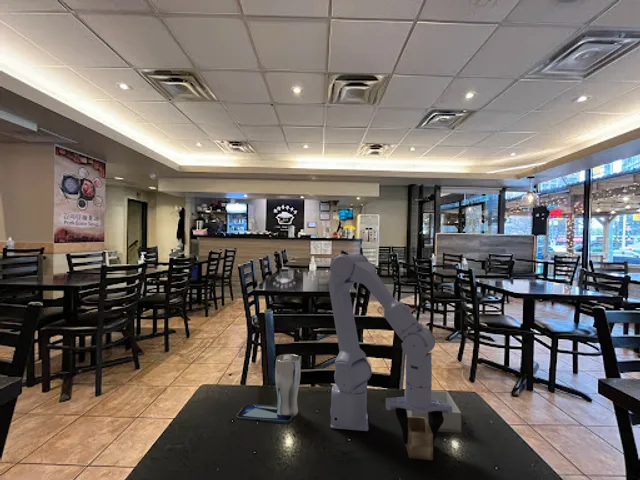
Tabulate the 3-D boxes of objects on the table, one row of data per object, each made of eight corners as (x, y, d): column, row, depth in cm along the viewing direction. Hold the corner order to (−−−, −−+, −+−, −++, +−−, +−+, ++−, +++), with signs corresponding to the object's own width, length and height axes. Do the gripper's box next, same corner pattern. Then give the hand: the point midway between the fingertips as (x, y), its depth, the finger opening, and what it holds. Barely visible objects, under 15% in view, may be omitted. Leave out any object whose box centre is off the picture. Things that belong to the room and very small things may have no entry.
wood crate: (409, 458, 68) (409, 432, 69) (404, 438, 75) (404, 415, 75) (432, 460, 68) (433, 434, 68) (425, 440, 75) (425, 417, 75)
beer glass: (295, 421, 82) (296, 363, 83) (270, 417, 84) (271, 361, 84) (302, 408, 89) (303, 354, 89) (279, 405, 90) (280, 352, 91)
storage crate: (411, 429, 79) (411, 409, 80) (404, 405, 91) (404, 388, 92) (461, 433, 78) (461, 412, 78) (447, 408, 90) (447, 391, 90)
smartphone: (245, 403, 90) (296, 407, 88) (245, 407, 90) (296, 410, 88) (234, 417, 83) (290, 421, 81) (234, 420, 83) (289, 425, 81)
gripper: (388, 388, 69) (387, 450, 68) (456, 392, 67) (456, 457, 67) (385, 375, 76) (384, 432, 75) (447, 379, 74) (447, 437, 74)
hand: (417, 442), depth 72 cm, fingers closed on wood crate, 5 cm apart
